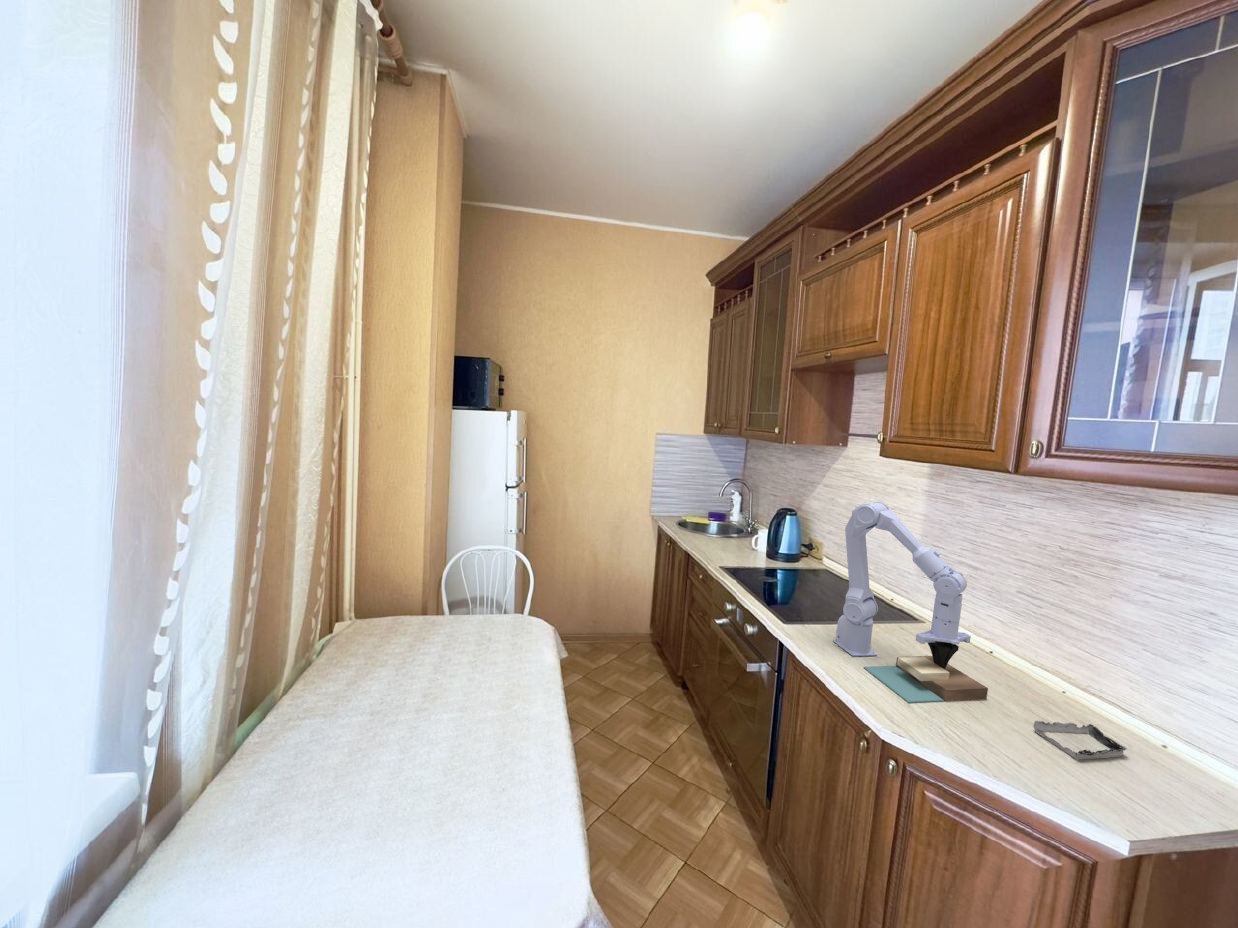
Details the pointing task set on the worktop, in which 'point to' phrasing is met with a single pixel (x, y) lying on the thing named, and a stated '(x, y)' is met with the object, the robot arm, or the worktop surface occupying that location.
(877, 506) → the robot arm
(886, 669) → the rubber mat
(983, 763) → the worktop surface
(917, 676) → the cream square slab
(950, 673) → the walnut board
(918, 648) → the worktop surface
